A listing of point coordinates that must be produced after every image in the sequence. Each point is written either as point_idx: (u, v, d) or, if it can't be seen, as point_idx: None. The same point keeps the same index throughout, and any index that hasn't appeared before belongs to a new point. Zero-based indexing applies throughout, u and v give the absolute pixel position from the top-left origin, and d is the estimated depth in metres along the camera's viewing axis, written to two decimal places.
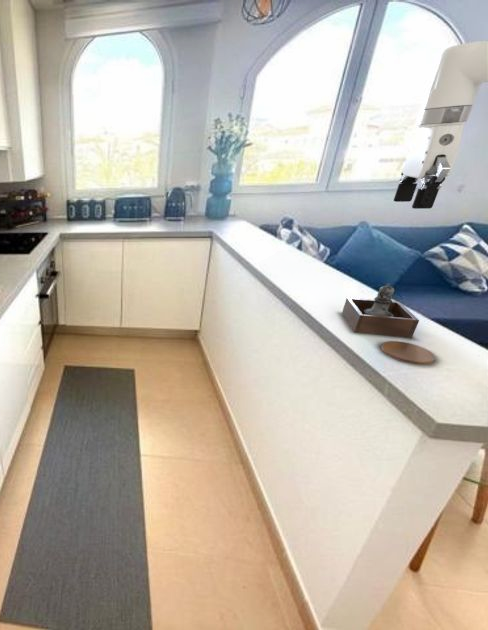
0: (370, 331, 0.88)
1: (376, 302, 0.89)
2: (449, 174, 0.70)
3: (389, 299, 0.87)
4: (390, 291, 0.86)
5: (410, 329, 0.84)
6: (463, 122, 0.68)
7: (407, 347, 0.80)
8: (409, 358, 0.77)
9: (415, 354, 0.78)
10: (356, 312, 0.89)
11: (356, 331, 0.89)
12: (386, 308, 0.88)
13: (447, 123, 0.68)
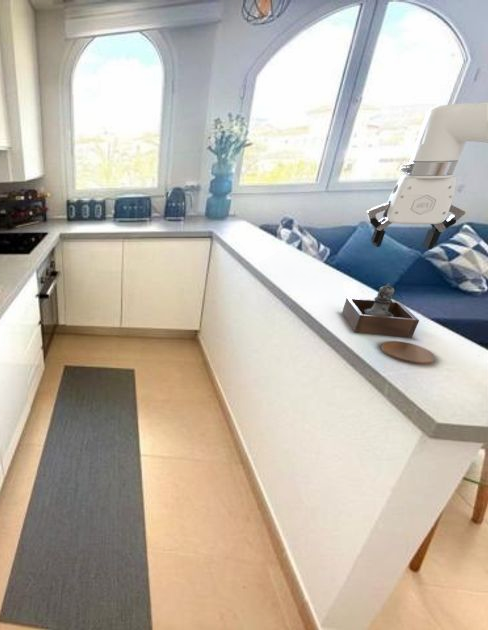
0: (370, 331, 0.88)
1: (376, 302, 0.89)
2: (392, 220, 0.79)
3: (389, 299, 0.87)
4: (390, 291, 0.86)
5: (410, 329, 0.84)
6: (416, 176, 0.74)
7: (407, 347, 0.80)
8: (409, 358, 0.77)
9: (415, 354, 0.78)
10: (356, 312, 0.89)
11: (356, 331, 0.89)
12: (386, 308, 0.88)
13: (406, 175, 0.77)
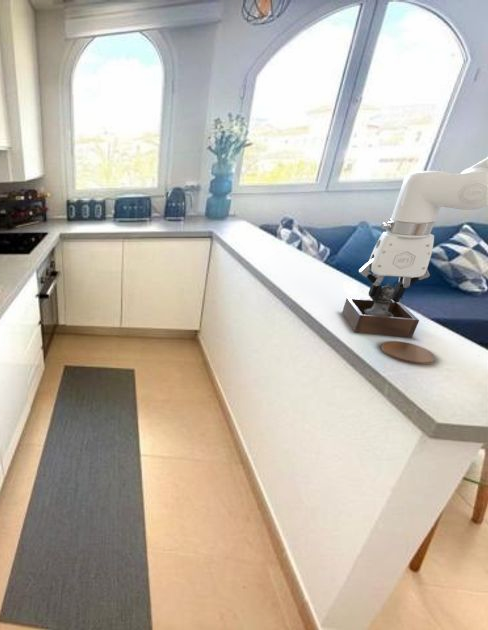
0: (370, 331, 0.88)
1: (376, 302, 0.89)
2: (375, 272, 0.84)
3: (389, 299, 0.87)
4: (390, 291, 0.86)
5: (410, 329, 0.84)
6: (396, 234, 0.80)
7: (407, 347, 0.80)
8: (409, 358, 0.77)
9: (415, 354, 0.78)
10: (356, 312, 0.89)
11: (356, 331, 0.89)
12: (386, 308, 0.88)
13: (387, 231, 0.82)
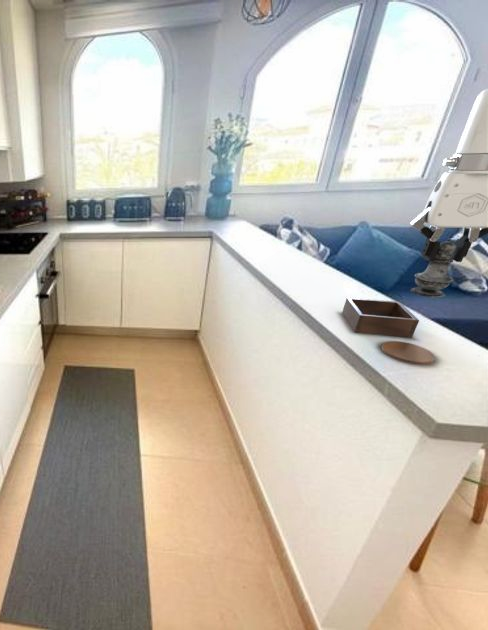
0: (370, 331, 0.88)
1: (432, 263, 0.71)
2: (434, 223, 0.67)
3: (450, 258, 0.70)
4: (451, 248, 0.69)
5: (410, 329, 0.84)
6: (465, 171, 0.63)
7: (407, 347, 0.80)
8: (409, 358, 0.77)
9: (415, 354, 0.78)
10: (356, 312, 0.89)
11: (356, 331, 0.89)
12: (445, 270, 0.71)
13: (451, 170, 0.65)
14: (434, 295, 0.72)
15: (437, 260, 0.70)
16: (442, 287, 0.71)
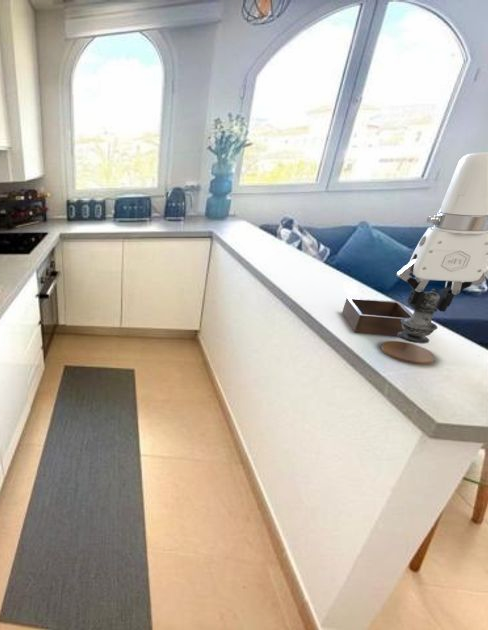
0: (370, 331, 0.88)
1: (417, 311, 0.75)
2: (419, 276, 0.70)
3: (434, 307, 0.73)
4: (435, 298, 0.72)
5: None
6: (448, 230, 0.66)
7: (407, 347, 0.80)
8: (409, 358, 0.77)
9: (415, 354, 0.78)
10: (356, 312, 0.89)
11: (356, 331, 0.89)
12: (429, 318, 0.74)
13: (434, 226, 0.68)
14: (419, 341, 0.76)
15: (422, 309, 0.74)
16: (427, 334, 0.74)
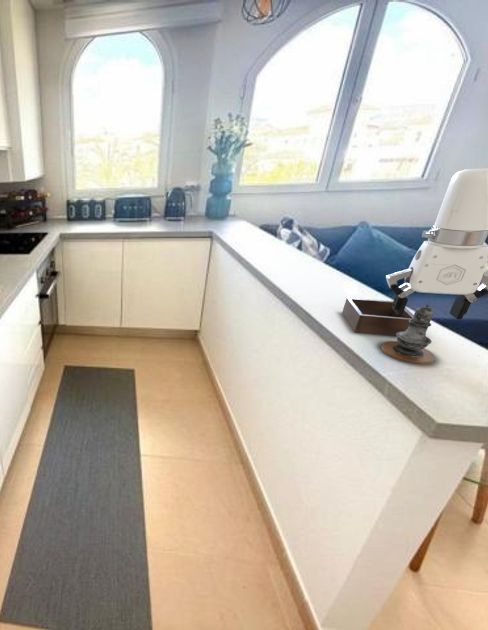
0: (370, 331, 0.88)
1: (411, 325, 0.76)
2: (415, 289, 0.71)
3: (428, 322, 0.74)
4: (429, 313, 0.73)
5: None
6: (442, 244, 0.67)
7: None
8: (409, 358, 0.77)
9: None
10: (356, 312, 0.89)
11: (356, 331, 0.89)
12: (423, 332, 0.75)
13: (430, 241, 0.70)
14: (414, 355, 0.77)
15: (416, 323, 0.75)
16: (421, 348, 0.76)
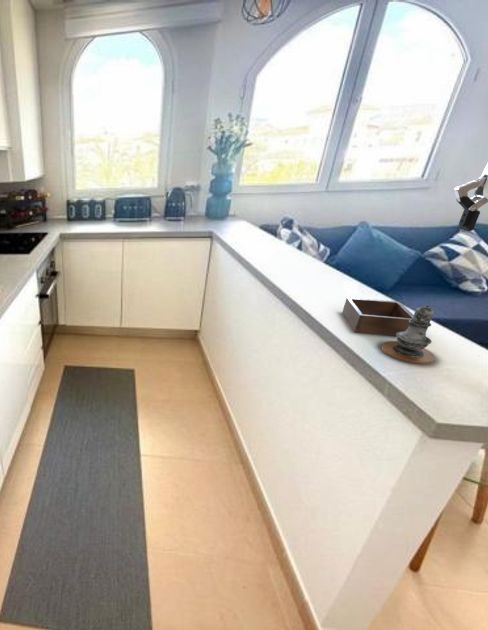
0: (370, 331, 0.88)
1: (411, 325, 0.76)
2: None
3: (428, 322, 0.74)
4: (429, 313, 0.73)
5: None
6: None
7: None
8: (409, 358, 0.77)
9: None
10: (356, 312, 0.89)
11: (356, 331, 0.89)
12: (423, 332, 0.75)
13: None
14: (414, 355, 0.77)
15: (416, 323, 0.75)
16: (421, 348, 0.76)
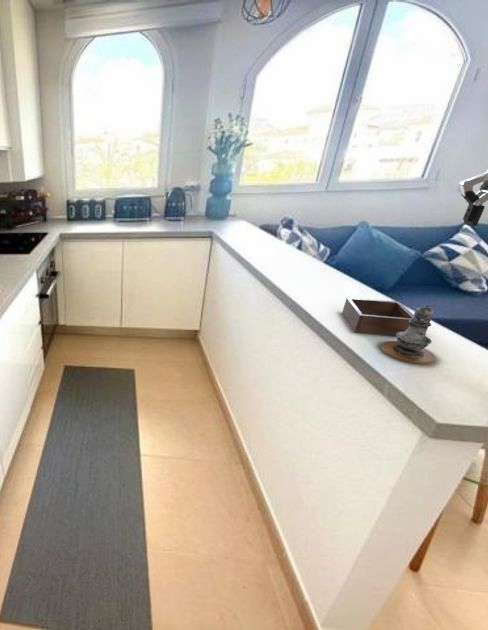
0: (370, 331, 0.88)
1: (411, 325, 0.76)
2: None
3: (428, 322, 0.74)
4: (429, 313, 0.73)
5: None
6: None
7: None
8: (409, 358, 0.77)
9: None
10: (356, 312, 0.89)
11: (356, 331, 0.89)
12: (423, 332, 0.75)
13: None
14: (414, 355, 0.77)
15: (416, 323, 0.75)
16: (421, 348, 0.76)
